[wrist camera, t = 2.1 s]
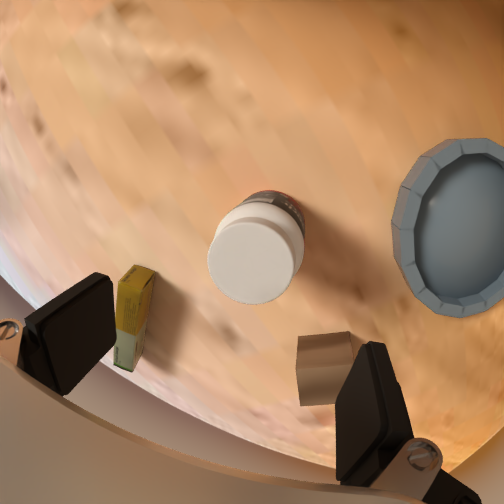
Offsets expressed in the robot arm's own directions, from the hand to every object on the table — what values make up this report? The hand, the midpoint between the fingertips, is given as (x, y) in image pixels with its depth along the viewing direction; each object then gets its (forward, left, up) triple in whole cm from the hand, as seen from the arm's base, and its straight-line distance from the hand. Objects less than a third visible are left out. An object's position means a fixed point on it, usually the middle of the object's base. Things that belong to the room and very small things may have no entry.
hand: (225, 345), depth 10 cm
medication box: (+12, -12, -16) cm, 24 cm away
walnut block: (+12, +8, -16) cm, 21 cm away
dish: (-4, +18, -16) cm, 24 cm away
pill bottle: (0, 0, -16) cm, 16 cm away
